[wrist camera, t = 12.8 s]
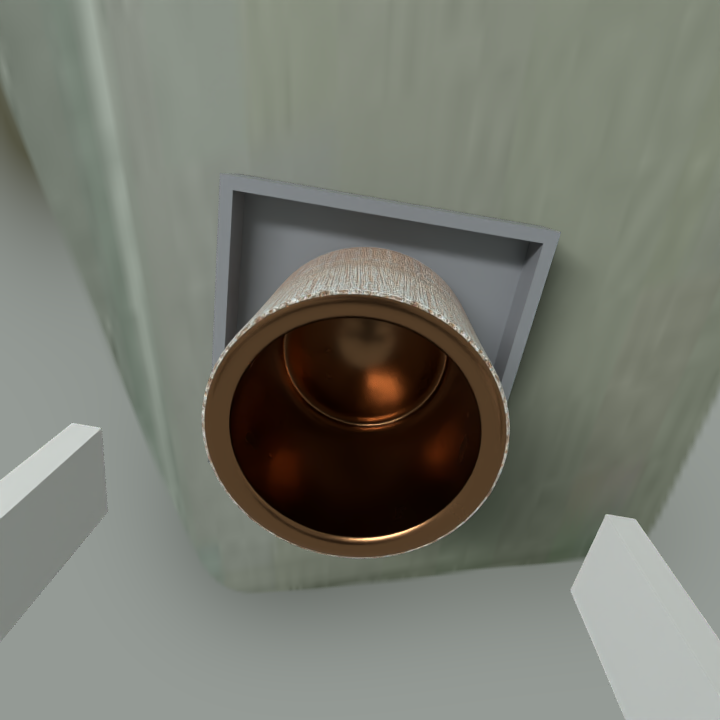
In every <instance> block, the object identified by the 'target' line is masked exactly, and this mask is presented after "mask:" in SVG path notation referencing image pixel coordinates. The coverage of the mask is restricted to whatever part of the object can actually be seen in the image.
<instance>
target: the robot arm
mask: <svg viewBox="0 0 720 720" xmlns="http://www.w3.org/2000/svg"><path fill="white" fill-rule="evenodd" d="M107 512H108V507H107V493H106V479H105V466H104V452H103V438H102V428H99V427H93V426H87V425H81V424H75V423H72V424H70V425H69V426H68V427H67V428H65V429H64V430H63V431H62V432H60V433H59V434H58V435H56V436H55V437H54V438H53V439H52V440H50V441H49V442H48V443H47V444H45V445H44V446H43V447H41V448H40V449H39V450H38V451H36V452H35V453H34V454H33V455H31V456H30V457H29V458H28V459H26V460H25V461H24V462H23V463H21V464H20V465H19V466H18V467H16V468H15V469H14V470H13V471H11V472H10V473H9V474H8V475H6V476H5V477H4V478H3V479H1V480H0V642H1V641H2V639H3V638H4V637H5V636H6V635H7V633H8V632H9V631H10V630H11V629H12V627H13V626H14V625H15V624H16V623H17V621H18V620H19V619H20V618H21V617H22V615H23V614H24V613H25V612H26V610H27V609H28V608H29V607H30V606H31V604H32V603H33V602H34V601H35V599H36V598H37V597H38V596H39V595H40V593H41V592H42V591H43V590H44V589H45V587H46V586H47V585H48V584H49V582H50V581H51V580H52V579H53V578H54V576H55V575H56V574H57V573H58V572H59V570H60V569H61V568H62V567H63V566H64V564H65V563H66V562H67V561H68V560H69V558H70V557H71V556H72V555H73V554H74V552H75V551H76V550H77V549H78V547H79V546H80V545H81V544H82V543H83V541H84V540H85V539H86V538H87V537H88V535H89V534H90V533H91V532H92V531H93V529H94V528H95V527H96V526H97V524H98V523H99V522H100V521H101V520H102V518H103V517H104V516H105V515H106V513H107ZM570 591H571V594H572V596H573V598H574V600H575V603H576V605H577V608H578V610H579V612H580V615H581V617H582V619H583V622H584V624H585V627H586V629H587V631H588V633H589V636H590V638H591V640H592V643H593V645H594V648H595V650H596V652H597V655H598V657H599V659H600V662H601V664H602V667H603V669H604V671H605V673H606V676H607V678H608V681H609V683H610V685H611V688H612V690H613V692H614V695H615V697H616V700H617V702H618V704H619V706H620V709H621V711H622V714H623V716H624V718H625V720H720V640H719V638H718V637H717V635H716V634H715V632H714V631H713V630H712V628H711V627H710V625H709V624H708V622H707V621H706V620H705V618H704V617H703V615H702V614H701V612H700V611H699V609H698V608H697V607H696V605H695V604H694V602H693V601H692V599H691V598H690V597H689V595H688V594H687V593H686V591H685V589H684V588H683V586H682V585H681V584H680V582H679V581H678V580H677V578H676V577H675V575H674V574H673V572H672V571H671V569H670V568H669V566H668V565H667V564H666V562H665V561H664V559H663V558H662V556H661V555H660V554H659V552H658V551H657V549H656V548H655V546H654V545H653V543H652V542H651V541H650V539H649V538H648V536H647V535H646V533H645V532H644V531H643V529H642V528H641V526H640V525H639V523H638V522H637V520H636V519H632V518H627V517H621V516H615V515H609V514H606V515H605V518H604V520H603V522H602V524H601V526H600V528H599V530H598V532H597V535H596V537H595V539H594V541H593V543H592V545H591V547H590V549H589V552H588V554H587V556H586V558H585V560H584V562H583V564H582V567H581V569H580V571H579V573H578V575H577V577H576V579H575V582H574V583H573V586H572V588H571V590H570Z"/></svg>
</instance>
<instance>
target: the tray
mask: <svg viewBox="0 0 720 720" xmlns="http://www.w3.org/2000/svg"><path fill="white" fill-rule="evenodd" d="M560 234H561V232H559V231H556V230H553V229H550V228H546V227H543V226H537V225H532V224H526V223H520V222H514V221H508V220H503V219H497V218H491V217H485V216H479V215H474V214H468V213H462V212H456V211H450V210H445V209H439V208H433V207H427V206H421V205H416V204H410V203H404V202H398V201H392V200H387V199H381V198H375V197H369V196H363V195H358V194H352V193H346V192H340V191H334V190H329V189H323V188H317V187H311V186H305V185H299V184H294V183H288V182H282V181H276V180H270V179H265V178H259V177H253V176H247V175H241V174H227V173H220V186H219V210H218V234H217V258H216V282H215V307H214V331H213V355H212V370H213V368H214V366H215V364H216V362H217V361H218V359H219V357H220V355H221V354H222V352H223V351H224V350H225V348H226V347H227V345H228V344H229V343H230V342H231V340H232V339H233V338H234V337H235V336H236V335H237V333H238V332H239V331H240V330H241V329H242V328H243V327H244V326H245V325H246V324H247V323H248V322H249V321H250V320H251V319H252V317H253V316H254V315H255V314H256V313H257V312H258V311H259V310H260V309H261V308H262V306H263V305H264V304H265V303H266V302H267V301H268V300H269V298H270V297H271V296H272V295H273V294H274V293H275V291H276V290H277V289H278V288H279V287H280V286H281V285H282V284H283V283H284V281H285V280H286V279H287V278H288V277H289V276H290V275H291V274H293V273H294V272H295V271H296V270H297V269H299V268H300V267H302V266H303V265H304V264H306V263H308V262H309V261H311V260H313V259H315V258H317V257H319V256H321V255H324V254H327V253H329V252H333V251H336V250H340V249H345V248H353V247H375V248H383V249H388V250H392V251H396V252H399V253H402V254H404V255H407V256H409V257H411V258H414V259H416V260H417V261H419V262H421V263H423V264H424V265H426V266H427V267H429V268H430V269H431V270H433V271H434V272H435V273H436V274H438V275H439V276H440V277H441V278H442V279H443V280H444V281H445V282H446V284H447V285H448V286H449V287H450V288H451V290H452V291H453V292H454V294H455V295H456V297H457V299H458V300H459V302H460V304H461V306H462V308H463V310H464V311H465V313H466V315H467V317H468V319H469V321H470V323H471V325H472V327H473V330H474V332H475V334H476V335H477V337H478V339H479V341H480V343H481V345H482V347H483V349H484V351H485V352H486V354H487V356H488V358H489V360H490V361H491V363H492V365H493V367H494V369H495V371H496V373H497V375H498V377H499V380H500V382H501V385H502V387H503V390H504V394H505V397H506V401H507V402H508V399H509V396H510V393H511V390H512V386H513V383H514V380H515V377H516V374H517V370H518V367H519V364H520V361H521V358H522V355H523V351H524V348H525V345H526V342H527V339H528V336H529V332H530V329H531V326H532V323H533V320H534V317H535V313H536V310H537V307H538V304H539V301H540V298H541V294H542V291H543V288H544V285H545V282H546V279H547V275H548V272H549V269H550V266H551V263H552V259H553V256H554V253H555V250H556V247H557V244H558V240H559V237H560ZM208 462H210V461H209V458H208Z"/></svg>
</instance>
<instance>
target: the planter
mask: <svg viewBox="0 0 720 720" xmlns="http://www.w3.org/2000/svg"><path fill="white" fill-rule="evenodd" d="M202 431H203V439H204V444H205V448H206V452H207V455H208V458H209V461H210V464H211V466H212V468H213V471H214V473H215V475H216V477H217V478H218V480H219V482H220V484H221V485H222V487H223V488H224V490H225V491H226V493H227V494H228V495H229V497H230V498H231V499H232V500H233V502H234V503H235V504H236V505H237V506H238V507H239V508H240V509H241V510H242V511H243V512H244V513H245V514H246V515H247V516H248V517H249V518H250V519H252V520H253V521H254V522H255V523H256V524H258V525H259V526H261V527H262V528H263V529H265V530H266V531H268V532H270V533H271V534H273V535H274V536H276V537H278V538H280V539H282V540H284V541H286V542H288V543H290V544H292V545H295V546H298V547H300V548H303V549H306V550H309V551H312V552H316V553H320V554H324V555H329V556H335V557H343V558H362V559H366V558H380V557H388V556H394V555H399V554H403V553H407V552H410V551H414V550H417V549H420V548H422V547H425V546H427V545H429V544H432V543H434V542H436V541H438V540H440V539H441V538H443V537H445V536H447V535H448V534H450V533H451V532H453V531H454V530H456V529H457V528H459V527H460V526H461V525H462V524H464V523H465V522H466V521H467V520H468V519H469V518H471V517H472V516H473V515H474V514H475V513H476V511H477V510H478V509H479V508H480V507H481V506H482V505H483V503H484V502H485V501H486V499H487V498H488V497H489V495H490V494H491V492H492V490H493V489H494V487H495V485H496V484H497V481H498V479H499V477H500V475H501V473H502V470H503V467H504V464H505V461H506V457H507V453H508V447H509V438H510V420H509V411H508V406H507V401H506V397H505V394H504V390H503V387H502V385H501V382H500V380H499V377H498V375H497V373H496V371H495V369H494V367H493V365H492V363H491V361H490V360H489V358H488V356H487V354H486V352H485V351H484V349H483V347H482V345H481V343H480V341H479V339H478V337H477V335H476V334H475V332H474V330H473V327H472V325H471V323H470V321H469V319H468V317H467V315H466V313H465V311H464V310H463V308H462V306H461V304H460V302H459V300H458V299H457V297H456V295H455V294H454V292H453V291H452V290H451V288H450V287H449V286H448V285H447V284H446V282H445V281H444V280H443V279H442V278H441V277H440V276H439V275H438V274H436V273H435V272H434V271H433V270H431V269H430V268H429V267H427V266H426V265H424V264H423V263H421V262H419V261H417V260H416V259H414V258H411V257H409V256H407V255H404V254H402V253H399V252H396V251H392V250H388V249H383V248H375V247H353V248H345V249H340V250H336V251H333V252H329V253H327V254H324V255H321V256H319V257H317V258H315V259H313V260H311V261H309V262H308V263H306V264H304V265H303V266H302V267H300V268H299V269H297V270H296V271H295V272H294V273H293V274H291V275H290V276H289V277H288V278H287V279H286V280H285V281H284V283H283V284H282V285H281V286H280V287H279V288H278V289H277V290H276V291H275V293H274V294H273V295H272V296H271V297H270V298H269V300H268V301H267V302H266V303H265V304H264V305H263V306H262V308H261V309H260V310H259V311H258V312H257V313H256V314H255V315H254V316H253V317H252V319H251V320H250V321H249V322H248V323H247V324H246V325H245V326H244V327H243V328H242V329H241V330H240V331H239V332H238V333H237V335H236V336H235V337H234V338H233V339H232V340H231V342H230V343H229V344H228V345H227V347H226V348H225V350H224V351H223V352H222V354H221V355H220V357H219V359H218V361H217V362H216V364H215V366H214V368H213V370H212V373H211V375H210V378H209V380H208V383H207V386H206V390H205V394H204V400H203V407H202Z"/></svg>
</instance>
